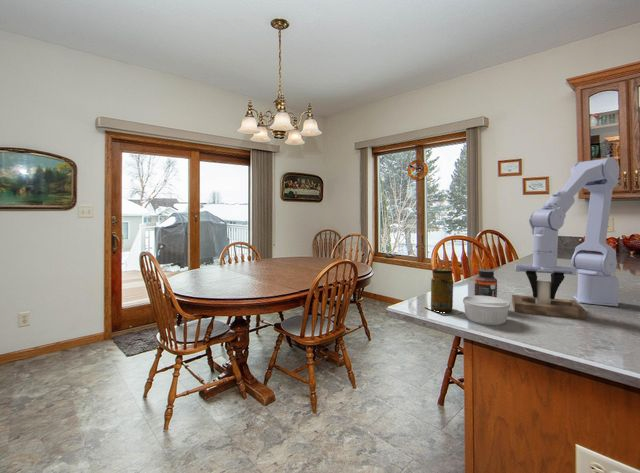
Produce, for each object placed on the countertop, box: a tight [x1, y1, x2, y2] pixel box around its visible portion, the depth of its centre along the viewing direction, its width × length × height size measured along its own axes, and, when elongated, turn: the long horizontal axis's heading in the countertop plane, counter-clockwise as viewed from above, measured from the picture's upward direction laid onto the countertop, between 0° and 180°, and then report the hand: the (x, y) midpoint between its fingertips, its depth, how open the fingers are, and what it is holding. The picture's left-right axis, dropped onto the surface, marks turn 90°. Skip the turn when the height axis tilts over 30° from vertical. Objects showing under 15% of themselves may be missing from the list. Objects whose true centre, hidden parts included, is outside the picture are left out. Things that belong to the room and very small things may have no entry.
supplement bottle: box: [474, 268, 498, 298], centre depth 97 cm, size 6×6×11 cm
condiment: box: [430, 267, 465, 316], centre depth 95 cm, size 7×8×12 cm
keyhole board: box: [511, 294, 586, 320], centre depth 94 cm, size 16×11×2 cm
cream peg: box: [536, 279, 551, 304], centre depth 95 cm, size 4×4×8 cm
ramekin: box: [462, 295, 511, 326], centre depth 87 cm, size 11×11×5 cm
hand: (543, 297), depth 95 cm, fingers closed on cream peg, 4 cm apart
